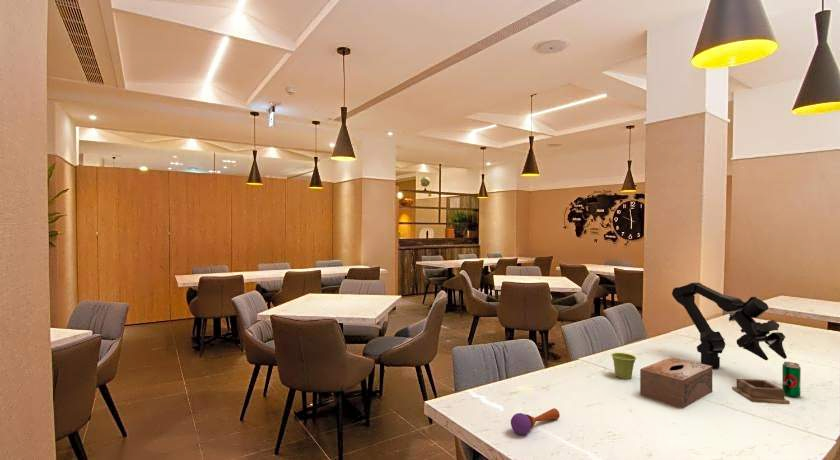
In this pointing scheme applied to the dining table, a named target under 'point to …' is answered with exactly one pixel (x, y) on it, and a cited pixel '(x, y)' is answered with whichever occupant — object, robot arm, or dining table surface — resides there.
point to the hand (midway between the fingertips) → (776, 359)
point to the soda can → (791, 379)
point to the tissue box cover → (676, 381)
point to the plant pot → (623, 364)
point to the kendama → (531, 420)
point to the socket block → (760, 391)
